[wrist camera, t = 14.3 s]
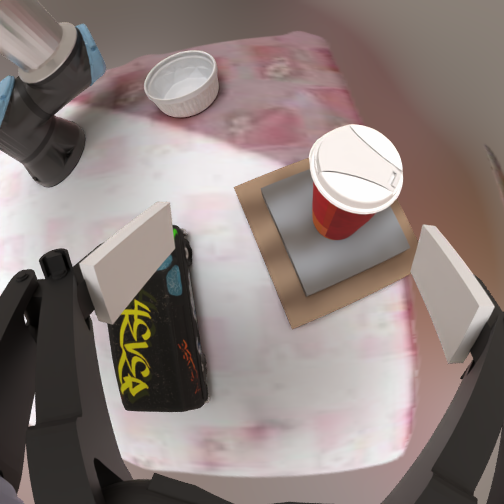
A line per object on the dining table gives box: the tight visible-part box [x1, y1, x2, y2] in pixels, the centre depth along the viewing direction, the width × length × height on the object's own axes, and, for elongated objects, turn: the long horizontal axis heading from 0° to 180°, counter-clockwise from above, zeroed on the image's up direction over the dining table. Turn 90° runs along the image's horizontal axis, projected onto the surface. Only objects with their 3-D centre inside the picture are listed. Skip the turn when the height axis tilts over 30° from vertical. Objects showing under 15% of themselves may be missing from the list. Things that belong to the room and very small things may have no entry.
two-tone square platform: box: [234, 158, 418, 329], centre depth 37 cm, size 20×20×7 cm
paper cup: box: [309, 125, 403, 240], centre depth 27 cm, size 8×8×14 cm
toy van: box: [107, 225, 210, 412], centre depth 36 cm, size 11×25×10 cm, turn 9°
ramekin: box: [144, 50, 219, 117], centre depth 45 cm, size 13×13×7 cm
